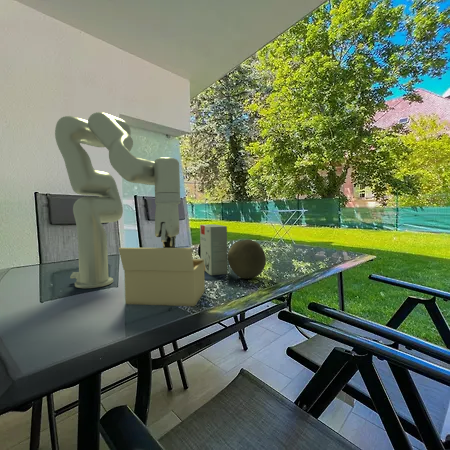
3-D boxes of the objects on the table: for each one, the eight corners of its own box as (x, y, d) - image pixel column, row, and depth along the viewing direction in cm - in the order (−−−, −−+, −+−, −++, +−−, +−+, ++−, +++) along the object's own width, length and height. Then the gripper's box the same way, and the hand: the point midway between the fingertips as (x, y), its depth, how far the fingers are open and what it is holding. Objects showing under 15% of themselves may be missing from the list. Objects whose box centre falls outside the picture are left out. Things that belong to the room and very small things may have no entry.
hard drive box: (200, 268, 123) (199, 224, 122) (216, 266, 126) (215, 224, 125) (210, 275, 109) (209, 226, 108) (228, 274, 112) (227, 225, 111)
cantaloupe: (234, 273, 112) (233, 237, 111) (268, 275, 107) (268, 238, 107) (223, 282, 98) (222, 241, 97) (262, 285, 94) (261, 242, 93)
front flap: (124, 269, 76) (123, 270, 76) (119, 247, 73) (118, 248, 73) (193, 270, 74) (193, 271, 73) (191, 247, 71) (191, 248, 71)
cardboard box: (125, 304, 77) (124, 269, 76) (146, 289, 91) (145, 260, 90) (194, 306, 74) (193, 270, 74) (204, 291, 88) (204, 260, 88)
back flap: (135, 260, 83) (136, 258, 83) (145, 260, 90) (145, 258, 90) (199, 261, 81) (199, 259, 81) (204, 260, 88) (204, 258, 88)
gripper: (164, 200, 90) (165, 255, 91) (146, 198, 75) (148, 264, 76) (186, 200, 89) (187, 255, 90) (172, 198, 75) (174, 264, 75)
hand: (169, 259), depth 83 cm, fingers closed
